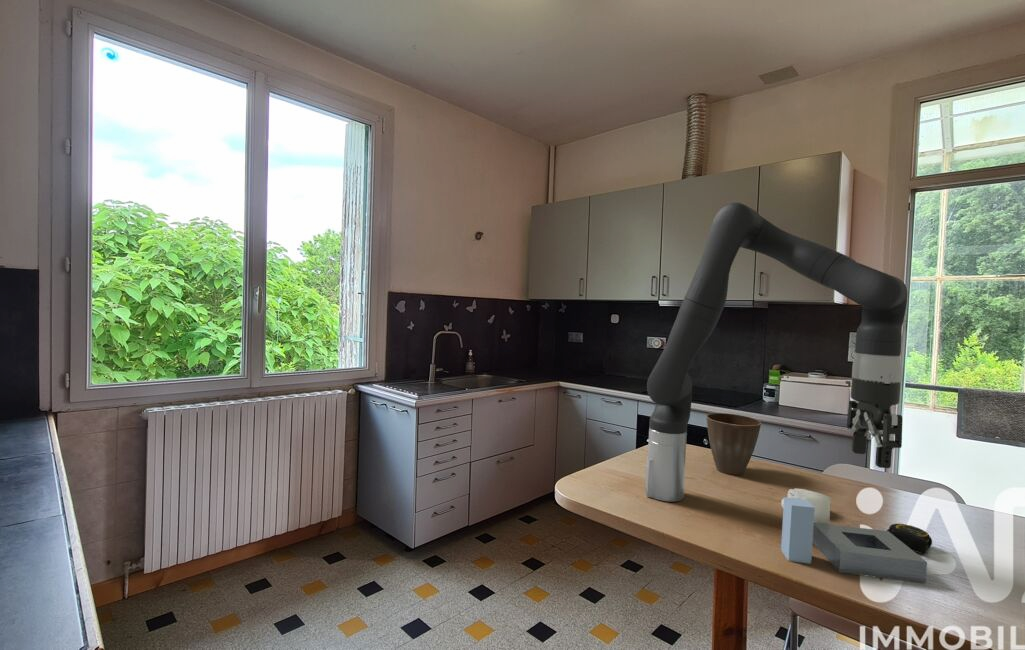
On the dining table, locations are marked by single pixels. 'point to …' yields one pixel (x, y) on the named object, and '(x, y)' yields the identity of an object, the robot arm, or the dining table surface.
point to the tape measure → (911, 537)
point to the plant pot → (732, 441)
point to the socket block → (869, 553)
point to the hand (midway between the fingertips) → (870, 460)
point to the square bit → (797, 530)
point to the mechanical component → (792, 494)
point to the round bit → (818, 505)
